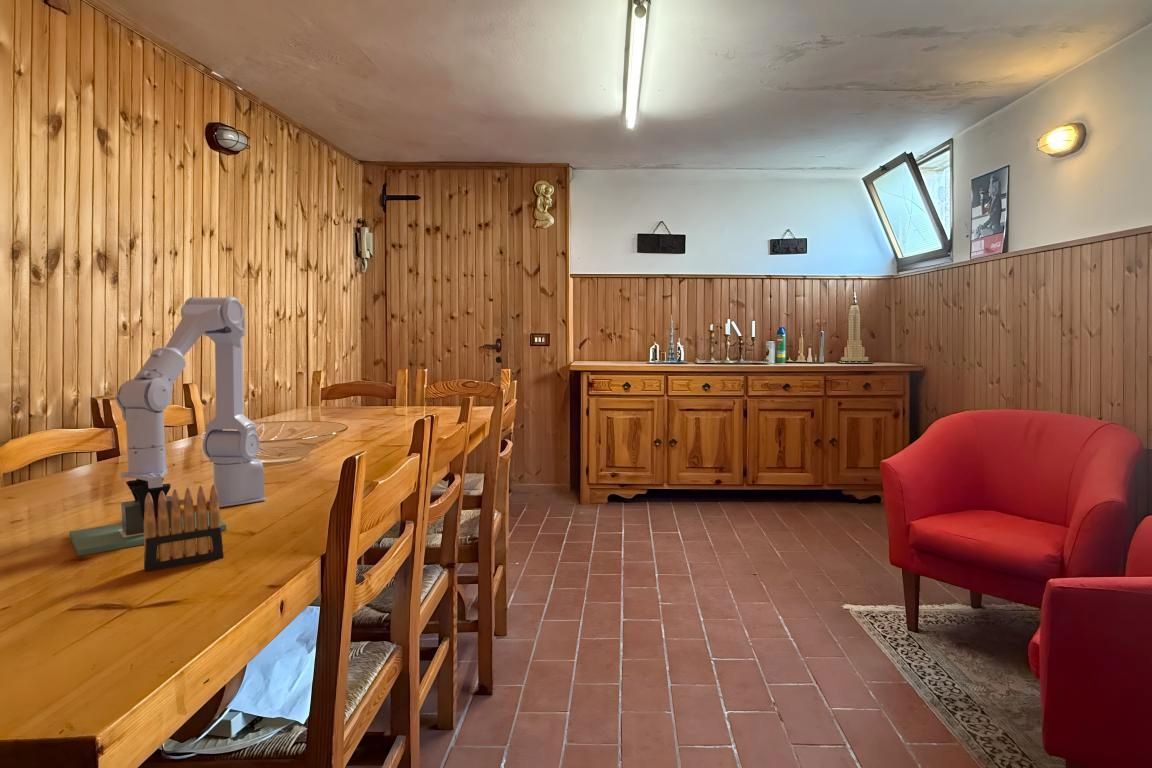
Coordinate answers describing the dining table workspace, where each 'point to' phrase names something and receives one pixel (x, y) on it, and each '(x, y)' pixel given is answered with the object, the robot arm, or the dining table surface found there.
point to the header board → (109, 538)
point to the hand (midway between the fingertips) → (149, 520)
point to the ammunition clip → (181, 531)
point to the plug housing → (138, 516)
